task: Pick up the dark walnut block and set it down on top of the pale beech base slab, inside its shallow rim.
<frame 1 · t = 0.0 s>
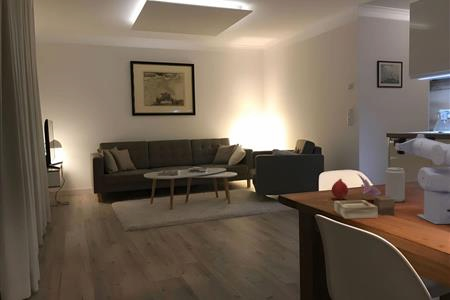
hand: (405, 142, 128), 22 cm above the table, tool horizontal, fingers open, 7 cm apart
walnut block: (383, 213, 119), on the table
beech base: (355, 214, 118), on the table
beverage can: (394, 201, 136), on the table
lily: (369, 202, 135), on the table
onion: (339, 200, 140), on the table
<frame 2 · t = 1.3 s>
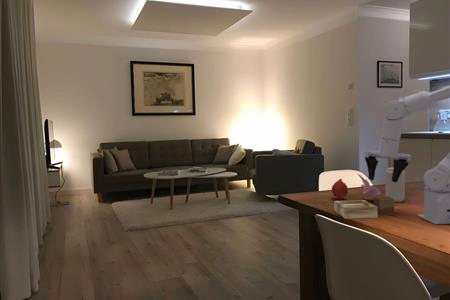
hand: (382, 180, 120), 10 cm above the table, tool pointing down, fingers open, 7 cm apart
nothing on the table moved.
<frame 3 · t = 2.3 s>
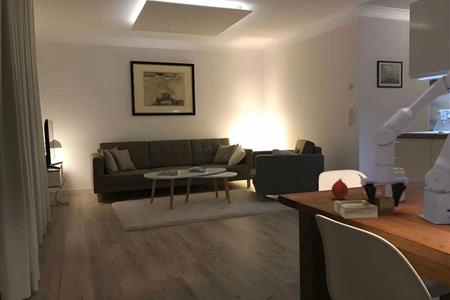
hand: (383, 206, 119), 2 cm above the table, tool pointing down, fingers open, 7 cm apart
nothing on the table moved.
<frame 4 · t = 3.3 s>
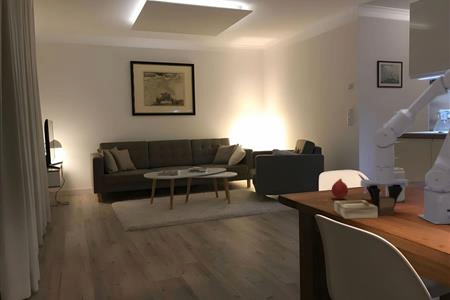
hand: (383, 208, 119), 1 cm above the table, tool pointing down, fingers closed on walnut block, 4 cm apart
walnut block: (383, 213, 119), on the table, touching gripper
everything else where it was.
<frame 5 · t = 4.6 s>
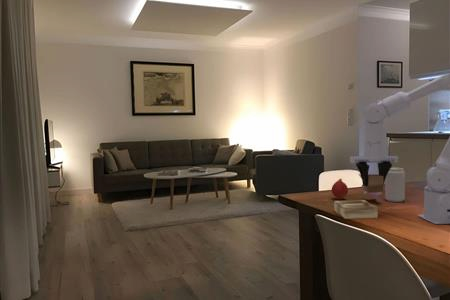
hand: (373, 185, 118), 9 cm above the table, tool pointing down, fingers closed on walnut block, 4 cm apart
walnut block: (372, 191, 118), point 7 cm above the table, touching gripper
everything else where it was.
when the fingers open (5 cm above the table, at t = 6.2 s): walnut block stays where it is, resting on beech base.
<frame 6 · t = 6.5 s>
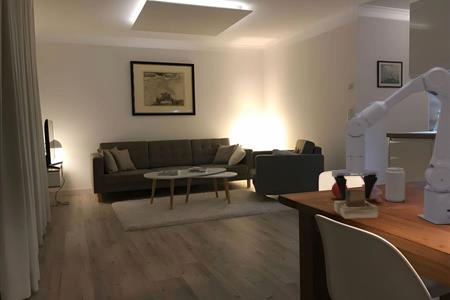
hand: (355, 198, 118), 5 cm above the table, tool pointing down, fingers open, 7 cm apart
walnut block: (354, 206, 118), point 2 cm above the table, touching beech base
everything else where it was.
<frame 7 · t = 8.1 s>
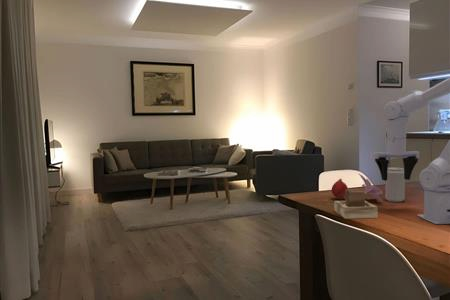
hand: (395, 179, 123), 10 cm above the table, tool pointing down, fingers open, 7 cm apart
nothing on the table moved.
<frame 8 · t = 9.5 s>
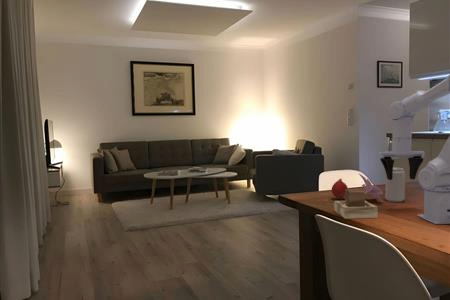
hand: (401, 179, 123), 10 cm above the table, tool pointing down, fingers open, 7 cm apart
at the end: walnut block inside the target area on the beech base (0.2 cm from its centre), point 2.5 cm above the beech base's base; walnut block touching beech base; walnut block tilted 0° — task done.
